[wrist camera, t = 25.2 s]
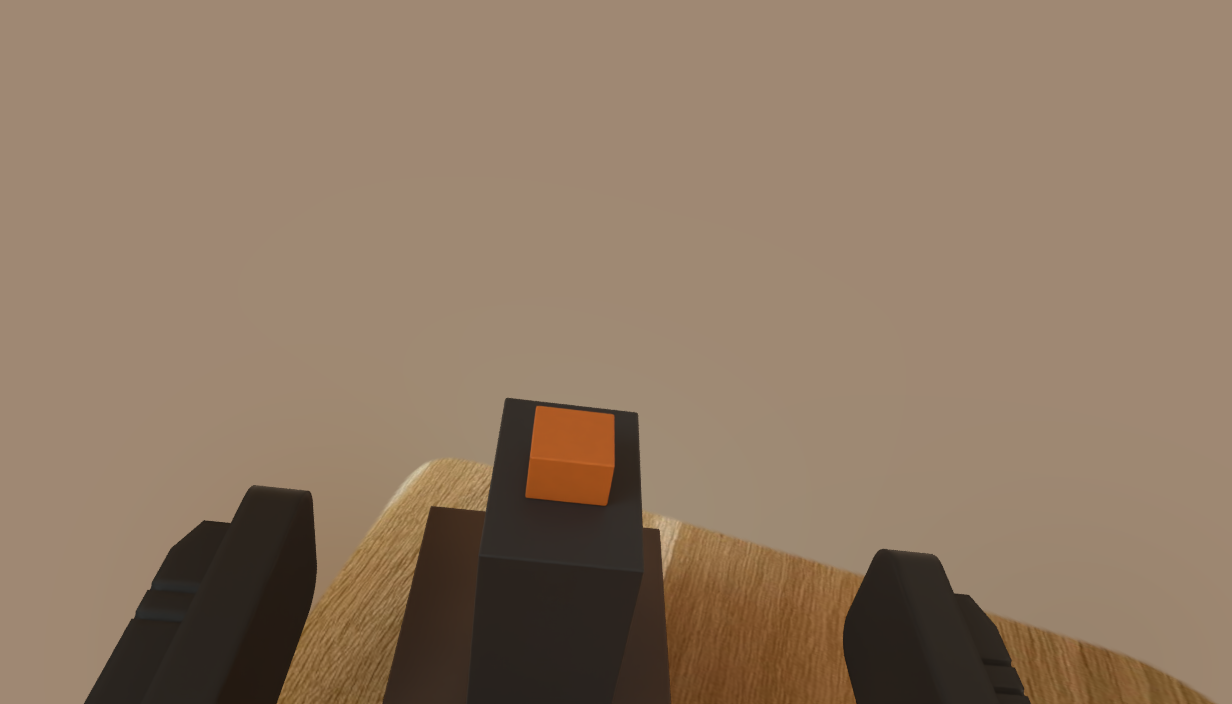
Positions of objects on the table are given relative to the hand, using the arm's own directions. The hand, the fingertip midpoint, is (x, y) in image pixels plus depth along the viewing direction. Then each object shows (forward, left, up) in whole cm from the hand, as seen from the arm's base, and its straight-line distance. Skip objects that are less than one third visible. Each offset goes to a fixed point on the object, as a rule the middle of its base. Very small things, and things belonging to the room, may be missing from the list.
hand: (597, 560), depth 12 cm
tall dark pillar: (-5, +9, -20) cm, 23 cm away
